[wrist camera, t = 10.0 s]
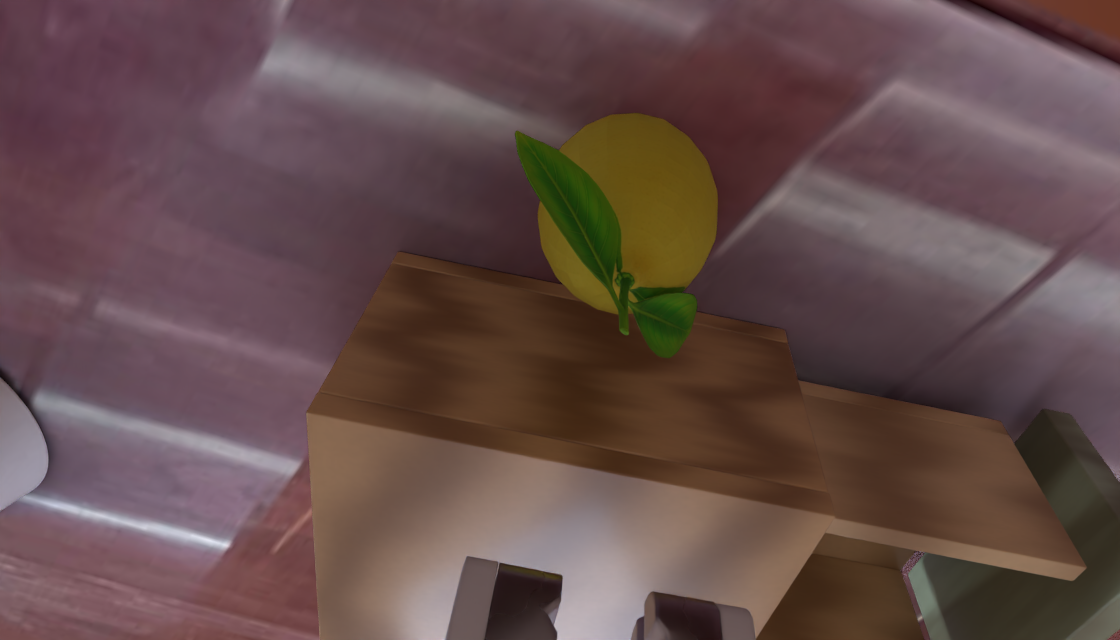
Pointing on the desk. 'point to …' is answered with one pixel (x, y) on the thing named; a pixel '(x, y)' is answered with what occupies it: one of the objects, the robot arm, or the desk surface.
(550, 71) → the desk surface
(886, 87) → the desk surface
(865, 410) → the drawer
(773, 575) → the cabinet
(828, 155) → the desk surface
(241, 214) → the desk surface
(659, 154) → the lemon
